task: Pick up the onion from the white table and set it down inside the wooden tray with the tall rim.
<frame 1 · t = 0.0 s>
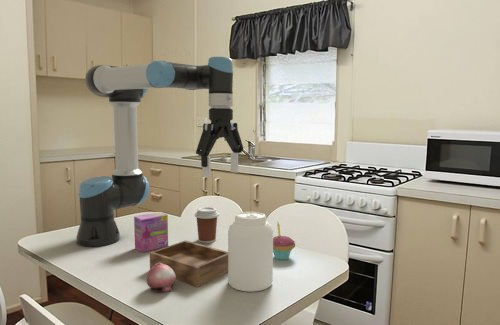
hand: (221, 174, 129), 28 cm above the table, fingers open, 13 cm apart
box: (151, 248, 144), on the table
coffee cup: (207, 240, 152), on the table
white lidded jar: (250, 283, 114), on the table
wooden tray: (190, 270, 123), on the table
onion: (161, 289, 110), on the table
cupcake: (282, 257, 135), on the table
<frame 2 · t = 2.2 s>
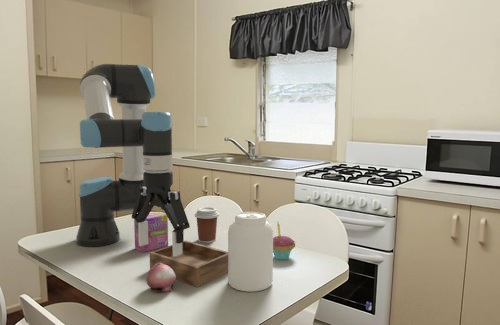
hand: (160, 249, 108), 11 cm above the table, fingers open, 13 cm apart
nothing on the table moved.
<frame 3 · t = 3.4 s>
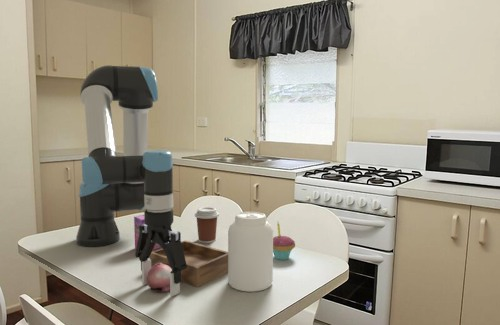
hand: (160, 288, 110), 0 cm above the table, fingers open, 11 cm apart
nothing on the table moved.
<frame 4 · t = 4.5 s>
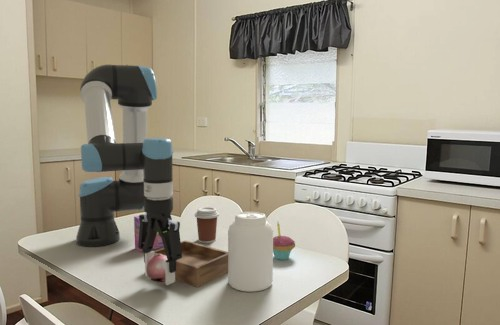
hand: (160, 278, 110), 3 cm above the table, fingers closed on onion, 8 cm apart
onion: (161, 280, 110), point 2 cm above the table, touching gripper
everything else where it was.
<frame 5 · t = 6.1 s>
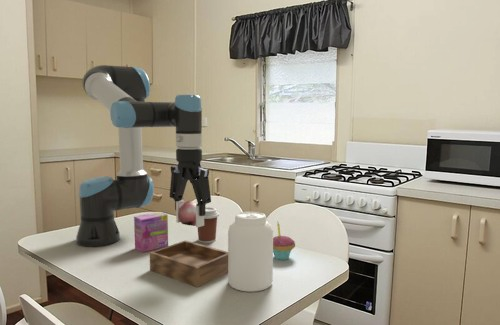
hand: (190, 223, 121), 15 cm above the table, fingers closed on onion, 8 cm apart
onion: (191, 225, 121), point 14 cm above the table, touching gripper
everything else where it was.
when the fingers open (4 cm above the table, at t = 8.0 s): onion drops 1 cm, resting on wooden tray.
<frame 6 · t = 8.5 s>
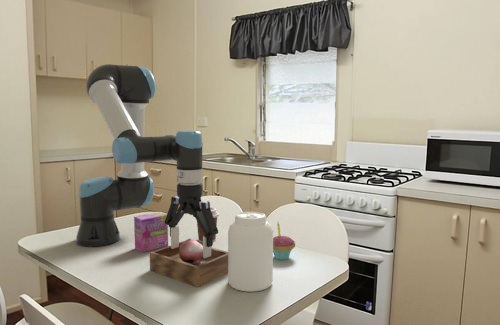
hand: (190, 252, 122), 6 cm above the table, fingers open, 13 cm apart
onion: (191, 262, 123), point 2 cm above the table, touching wooden tray
everything else where it was.
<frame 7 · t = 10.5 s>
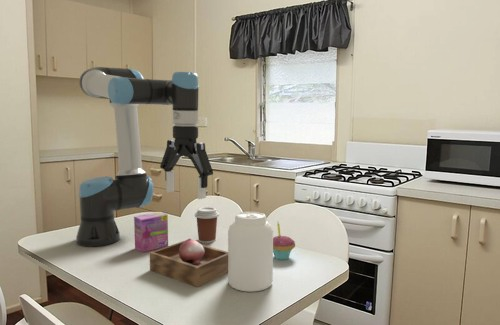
hand: (185, 195, 123), 23 cm above the table, fingers open, 13 cm apart
nothing on the table moved.
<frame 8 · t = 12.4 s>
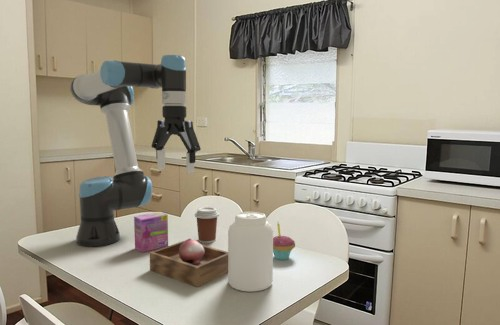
hand: (175, 171, 131), 29 cm above the table, fingers open, 13 cm apart
nothing on the table moved.
at the end: onion touching wooden tray; the gripper is holding nothing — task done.
